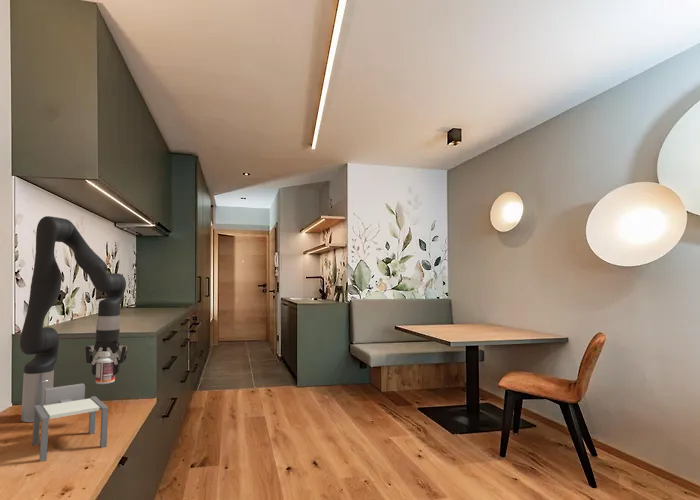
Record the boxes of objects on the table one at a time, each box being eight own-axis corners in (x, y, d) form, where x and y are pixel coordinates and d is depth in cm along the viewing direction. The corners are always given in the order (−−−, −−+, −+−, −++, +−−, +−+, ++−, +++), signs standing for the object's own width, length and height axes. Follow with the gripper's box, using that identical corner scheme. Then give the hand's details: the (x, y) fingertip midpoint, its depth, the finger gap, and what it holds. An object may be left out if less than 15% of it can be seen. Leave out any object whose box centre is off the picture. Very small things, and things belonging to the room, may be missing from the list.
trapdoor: (40, 404, 141) (40, 389, 142) (85, 397, 150) (86, 382, 150) (49, 419, 127) (50, 401, 128) (99, 410, 136) (100, 394, 136)
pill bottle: (117, 380, 160) (119, 349, 160) (109, 384, 154) (111, 352, 154) (100, 380, 160) (102, 349, 160) (91, 384, 153) (93, 351, 154)
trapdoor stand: (32, 444, 136) (34, 405, 137) (93, 431, 148) (95, 396, 149) (40, 461, 124) (42, 418, 125) (106, 446, 135) (108, 407, 136)
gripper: (132, 327, 162) (130, 372, 161) (91, 326, 161) (89, 372, 160) (125, 329, 155) (122, 377, 154) (82, 329, 153) (79, 377, 152)
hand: (105, 374), depth 157 cm, fingers closed on pill bottle, 6 cm apart
